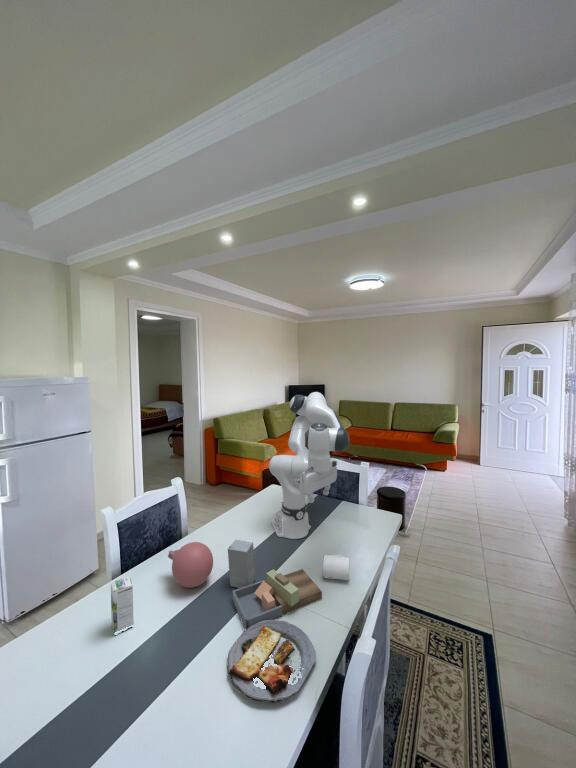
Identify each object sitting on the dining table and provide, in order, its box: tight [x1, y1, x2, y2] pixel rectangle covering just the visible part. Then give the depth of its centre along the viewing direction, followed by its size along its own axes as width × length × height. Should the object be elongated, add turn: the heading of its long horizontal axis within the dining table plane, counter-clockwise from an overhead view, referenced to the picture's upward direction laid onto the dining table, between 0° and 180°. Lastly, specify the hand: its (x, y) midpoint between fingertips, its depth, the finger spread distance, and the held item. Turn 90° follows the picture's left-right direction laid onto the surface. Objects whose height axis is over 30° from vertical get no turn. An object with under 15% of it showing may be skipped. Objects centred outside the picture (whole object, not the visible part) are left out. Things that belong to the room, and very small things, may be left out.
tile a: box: [254, 580, 275, 601], centre depth 114 cm, size 5×5×2 cm
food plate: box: [227, 619, 317, 703], centre depth 91 cm, size 25×23×4 cm
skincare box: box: [227, 539, 257, 589], centre depth 122 cm, size 8×7×16 cm
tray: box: [231, 579, 283, 629], centre depth 110 cm, size 15×13×4 cm
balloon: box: [167, 541, 214, 589], centre depth 124 cm, size 15×20×15 cm
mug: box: [322, 553, 350, 582], centre depth 128 cm, size 12×10×8 cm
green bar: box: [265, 569, 299, 606], centre depth 114 cm, size 14×4×6 cm, turn 41°
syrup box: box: [110, 576, 135, 634], centre depth 103 cm, size 6×6×14 cm
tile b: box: [262, 591, 275, 611], centre depth 109 cm, size 5×5×2 cm
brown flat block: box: [272, 568, 323, 616], centre depth 117 cm, size 14×16×3 cm
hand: (318, 498), depth 127 cm, fingers open, 8 cm apart
